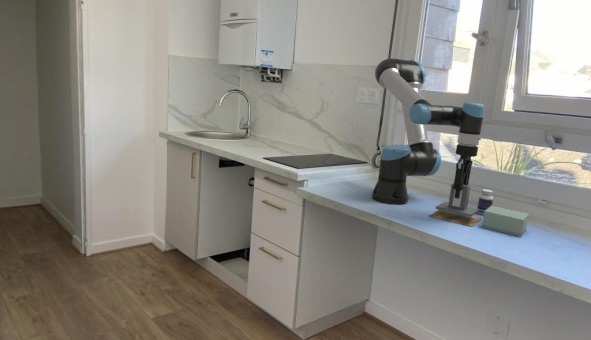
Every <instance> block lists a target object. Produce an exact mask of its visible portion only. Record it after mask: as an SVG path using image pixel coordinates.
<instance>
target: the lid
mask: <svg viewBox="0 0 591 340" xmlns="http://www.w3.org/2000/svg"><path fill="white" fill-rule="evenodd" d="M453 186H454V182H453V183H451V186H450V187H451V188H450V193H449V199H448V201H444V202H442V203H440V204H438V205H436V206H435V210H443V211H447V212H451V213H455V214H459V215H464V216H468V217H472V216H475V215H476V214H478V213H477V212H478V211H479V209H477V207H471V206H468V205H469V198H470V193H471V186H472V185H469V184H468V185H464V184H463V187H462V190H463V191H462V198H461V204H460V207H456V206H452V204H453V197H454V191H455V189H453Z"/></svg>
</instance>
